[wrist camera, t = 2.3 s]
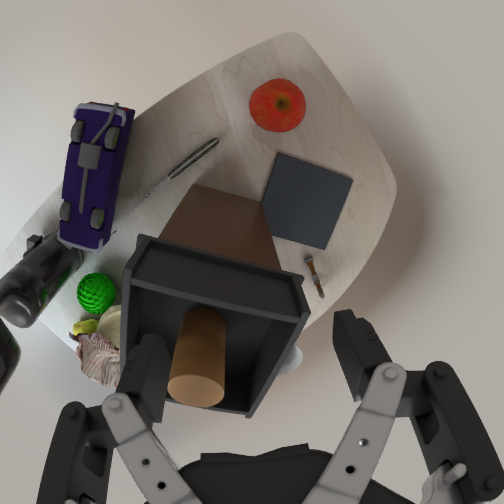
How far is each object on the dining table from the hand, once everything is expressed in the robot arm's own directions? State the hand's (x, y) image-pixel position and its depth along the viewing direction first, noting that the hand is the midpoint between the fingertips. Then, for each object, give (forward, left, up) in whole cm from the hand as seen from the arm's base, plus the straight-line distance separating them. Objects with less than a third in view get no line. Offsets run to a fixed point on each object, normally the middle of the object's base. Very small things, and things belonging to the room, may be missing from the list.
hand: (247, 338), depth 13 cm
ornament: (-22, -24, -31) cm, 45 cm away
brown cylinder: (-1, -9, -11) cm, 14 cm away
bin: (-1, -9, -38) cm, 39 cm away
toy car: (-23, -4, -27) cm, 36 cm away
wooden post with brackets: (+19, -13, -38) cm, 44 cm away
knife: (-11, -3, -38) cm, 39 cm away
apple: (+2, +13, -38) cm, 40 cm away
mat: (+12, -1, -38) cm, 39 cm away
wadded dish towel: (-22, -44, -27) cm, 56 cm away
